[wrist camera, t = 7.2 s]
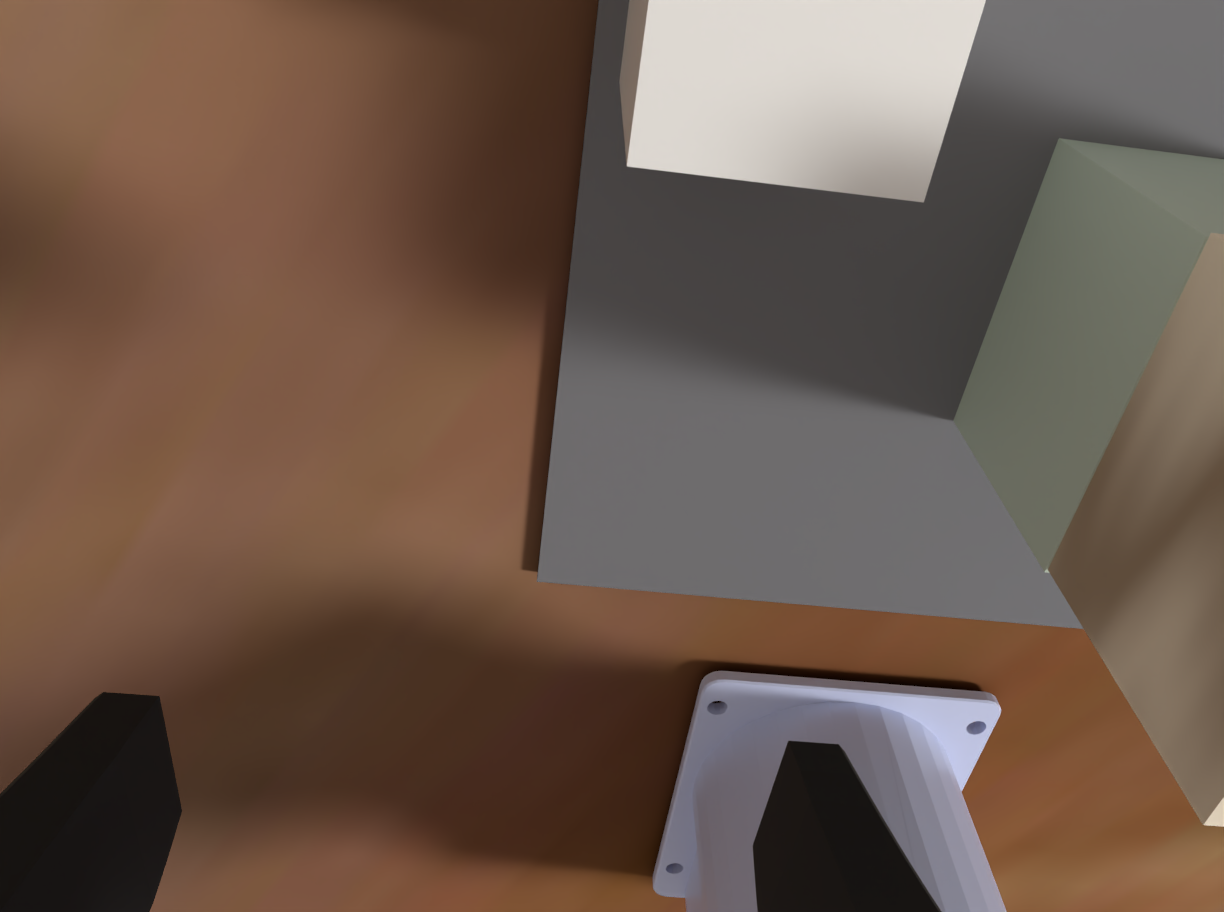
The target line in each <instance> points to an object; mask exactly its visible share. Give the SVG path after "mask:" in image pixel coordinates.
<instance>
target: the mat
mask: <svg viewBox="0 0 1224 912" xmlns="http://www.w3.org/2000/svg"><path fill="white" fill-rule="evenodd" d="M628 7H629V0H599V3H598V12H597V22H596V31H595V40H594V50H593V59H592V69H591V78H590V87H589V97H588V106H587V115H586V125H585V134H584V144H583V153H582V162H581V172H580V181H579V190H578V200H577V209H576V219H575V228H574V237H573V247H572V256H571V265H570V275H569V284H568V294H567V303H566V312H565V322H564V331H563V341H562V350H561V359H560V369H559V378H558V387H557V397H556V406H555V416H554V425H553V434H552V444H551V453H550V462H549V472H548V481H547V491H546V500H545V509H544V519H543V528H542V537H541V547H540V556H539V566H538V575H537V582H548V583H559V584H571V585H583V586H594V587H606V588H617V589H629V590H640V591H652V592H664V593H675V594H687V595H698V596H710V597H722V598H733V599H745V600H756V601H768V602H779V603H791V604H803V605H814V606H826V607H837V608H849V609H860V610H872V611H884V612H895V613H907V614H918V615H930V616H941V617H953V618H965V619H976V620H988V621H999V622H1011V623H1022V624H1034V625H1046V626H1057V627H1069V628H1080V629H1083V627H1082V625H1081V624H1080V622H1079V620H1078V619H1077V617H1076V615H1075V614H1074V612H1073V610H1072V609H1071V607H1070V606H1069V604H1068V602H1067V601H1066V599H1065V597H1064V596H1063V594H1062V592H1061V591H1060V589H1059V587H1058V586H1057V584H1056V583H1055V581H1054V579H1053V578H1052V576H1051V574H1050V573H1046V572H1044V571H1043V569H1042V567H1041V566H1040V564H1039V562H1038V561H1037V559H1036V558H1035V556H1034V554H1033V553H1032V551H1031V549H1030V548H1029V546H1028V544H1027V543H1026V541H1025V539H1024V538H1023V536H1022V534H1021V533H1020V531H1019V529H1018V528H1017V526H1016V524H1015V523H1014V521H1013V519H1012V518H1011V516H1010V514H1009V513H1008V511H1007V509H1006V508H1005V506H1004V504H1003V503H1002V501H1001V499H1000V498H999V496H998V494H997V493H996V491H995V489H994V488H993V486H992V484H991V483H990V481H989V479H988V478H987V476H986V474H985V473H984V471H983V470H982V468H981V466H980V465H979V463H978V461H977V460H976V458H975V456H974V455H973V453H972V451H971V450H970V448H969V446H968V445H967V443H966V441H965V440H964V438H963V436H962V435H961V433H960V431H959V430H958V428H957V426H956V425H955V423H954V421H953V420H954V418H955V415H956V412H957V410H958V407H959V404H960V402H961V399H962V396H963V394H964V391H965V388H966V386H967V383H968V380H969V378H970V375H971V372H972V369H973V367H974V364H975V361H976V359H977V356H978V353H979V351H980V348H981V345H982V343H983V340H984V337H985V335H986V332H987V329H988V327H989V324H990V321H991V319H992V316H993V313H994V310H995V308H996V305H997V302H998V300H999V297H1000V294H1001V292H1002V289H1003V286H1004V284H1005V281H1006V278H1007V276H1008V273H1009V270H1010V268H1011V265H1012V262H1013V260H1014V257H1015V254H1016V251H1017V249H1018V246H1019V243H1020V241H1021V238H1022V235H1023V233H1024V230H1025V227H1026V225H1027V222H1028V219H1029V217H1030V214H1031V211H1032V209H1033V206H1034V203H1035V201H1036V198H1037V195H1038V193H1039V190H1040V187H1041V184H1042V182H1043V179H1044V176H1045V174H1046V171H1047V168H1048V166H1049V163H1050V160H1051V158H1052V155H1053V152H1054V150H1055V147H1056V144H1057V142H1058V139H1059V138H1061V139H1069V140H1077V141H1084V142H1092V143H1100V144H1108V145H1116V146H1123V147H1131V148H1139V149H1147V150H1155V151H1162V152H1170V153H1178V154H1186V155H1193V156H1201V157H1209V158H1217V159H1224V0H986V2H985V5H984V8H983V12H982V15H981V18H980V21H979V25H978V28H977V31H976V34H975V38H974V41H973V44H972V47H971V51H970V54H969V57H968V60H967V63H966V67H965V70H964V73H963V76H962V80H961V83H960V86H959V89H958V93H957V96H956V99H955V102H954V106H953V109H952V112H951V115H950V119H949V122H948V125H947V128H946V132H945V135H944V138H943V141H942V145H941V148H940V151H939V154H938V158H937V161H936V164H935V167H934V171H933V174H932V177H931V180H930V184H929V187H928V190H927V193H926V196H925V200H924V202H916V201H907V200H899V199H891V198H883V197H875V196H866V195H858V194H850V193H842V192H833V191H825V190H817V189H809V188H800V187H792V186H784V185H776V184H767V183H759V182H751V181H743V180H734V179H726V178H718V177H710V176H702V175H693V174H685V173H677V172H669V171H660V170H652V169H644V168H636V167H627V164H626V153H625V141H624V130H623V118H622V107H621V95H620V84H619V81H620V72H621V64H622V56H623V48H624V40H625V32H626V23H627V15H628Z"/></svg>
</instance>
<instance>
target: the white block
mask: <svg viewBox="0 0 1224 912" xmlns="http://www.w3.org/2000/svg"><path fill="white" fill-rule="evenodd" d="M985 2H986V0H629V7H628V15H627V23H626V32H625V40H624V48H623V56H622V64H621V72H620V81H619V84H620V95H621V107H622V118H623V130H624V141H625V153H626V164H627V167H636V168H644V169H652V170H660V171H669V172H677V173H685V174H693V175H702V176H710V177H718V178H726V179H734V180H743V181H751V182H759V183H767V184H776V185H784V186H792V187H800V188H809V189H817V190H825V191H833V192H842V193H850V194H858V195H866V196H875V197H883V198H891V199H899V200H907V201H916V202H924V200H925V196H926V193H927V190H928V187H929V184H930V180H931V177H932V174H933V171H934V167H935V164H936V161H937V158H938V154H939V151H940V148H941V145H942V141H943V138H944V135H945V132H946V128H947V125H948V122H949V119H950V115H951V112H952V109H953V106H954V102H955V99H956V96H957V93H958V89H959V86H960V83H961V80H962V76H963V73H964V70H965V67H966V63H967V60H968V57H969V54H970V51H971V47H972V44H973V41H974V38H975V34H976V31H977V28H978V25H979V21H980V18H981V15H982V12H983V8H984V5H985Z"/></svg>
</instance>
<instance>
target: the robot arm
mask: <svg viewBox="0 0 1224 912" xmlns="http://www.w3.org/2000/svg"><path fill="white" fill-rule="evenodd" d="M714 701H722V702H720V703H712V702H714ZM1000 713H1001V708H1000V706H999V703H998V701H997V699H996V697H995V696H994V695H993V694H991V693H987V692H981V691H969V690H956V689H944V688H931V687H919V686H906V685H894V684H882V683H869V682H857V681H844V680H832V679H819V678H807V677H794V676H782V675H770V674H757V673H745V672H732V671H715V672H712V673H709V674H708V675H706V676H705V677H704V678H703V679H702V681H701V683H700V687H699V691H698V695H697V699H696V703H695V707H694V711H693V715H692V719H691V724H690V728H689V732H688V736H687V740H686V744H685V748H684V752H683V756H682V760H681V764H680V768H679V772H678V776H677V780H676V784H675V788H674V792H673V796H672V800H671V804H670V808H669V812H668V816H667V820H666V824H665V828H664V833H663V837H662V841H661V845H660V849H659V853H658V857H657V861H656V865H655V869H654V873H653V889H654V891H655V892H656V893H657V894H659V895H661V896H666V897H681V898H685V900H686V912H1007V911H1006V909H1005V906H1004V903H1003V901H1002V898H1001V895H1000V893H999V890H998V888H997V885H996V882H995V880H994V877H993V874H992V872H991V869H990V866H989V864H988V861H987V858H986V856H985V853H984V851H983V848H982V845H981V843H980V840H979V837H978V835H977V832H976V829H975V827H974V824H973V821H972V819H971V816H970V814H969V811H968V808H967V806H966V803H965V800H964V798H963V795H962V790H963V788H964V786H965V784H966V782H967V780H968V778H969V776H970V774H971V772H972V770H973V768H974V766H975V764H976V762H977V760H978V758H979V756H980V754H981V752H982V750H983V748H984V746H985V744H986V742H987V740H988V738H989V736H990V734H991V732H992V730H993V728H994V726H995V724H996V722H997V720H998V718H999V716H1000ZM975 721H976V722H975ZM972 722H973V723H972ZM181 812H182V809H181V804H180V799H179V794H178V789H177V783H176V778H175V773H174V768H173V763H172V758H171V753H170V748H169V743H168V738H167V733H166V728H165V722H164V717H163V712H162V707H161V702H160V697H159V696H149V695H135V694H121V693H106V692H103V693H102V694H100V695H99V696H97V697H96V698H95V699H94V700H93V701H92V702H91V703H90V704H89V705H88V706H87V707H86V708H85V709H84V710H83V711H82V712H81V713H80V714H79V715H78V716H77V717H76V718H75V719H74V720H73V721H72V722H71V723H70V724H69V725H68V726H67V727H66V728H65V729H64V730H63V731H62V732H61V733H60V734H59V735H58V736H57V737H56V738H55V739H54V740H53V741H52V742H51V743H50V745H49V746H48V747H47V748H46V749H45V750H44V751H43V752H42V753H41V754H40V755H39V756H38V757H37V758H36V759H35V760H34V761H33V762H32V763H31V764H30V765H29V766H28V767H27V768H26V769H25V770H24V771H23V772H22V773H21V774H20V775H19V776H18V777H17V778H16V779H15V780H14V781H13V782H12V783H11V784H10V785H9V786H8V787H7V788H6V789H5V790H4V791H3V792H2V793H1V794H0V912H149V911H150V909H151V906H152V904H153V901H154V898H155V895H156V892H157V889H158V886H159V883H160V880H161V877H162V874H163V871H164V868H165V865H166V862H167V858H168V855H169V852H170V849H171V845H172V842H173V839H174V835H175V832H176V829H177V825H178V822H179V819H180V816H181Z"/></svg>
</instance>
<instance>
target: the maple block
mask: <svg viewBox="0 0 1224 912" xmlns="http://www.w3.org/2000/svg"><path fill="white" fill-rule="evenodd" d="M1048 571H1049V573H1050V574H1051V576H1052V578H1053V579H1054V581H1055V583H1056V584H1057V586H1058V587H1059V589H1060V591H1061V592H1062V594H1063V596H1064V597H1065V599H1066V601H1067V602H1068V604H1069V606H1070V607H1071V609H1072V610H1073V612H1074V614H1075V615H1076V617H1077V619H1078V620H1079V622H1080V624H1081V625H1082V627H1083V629H1084V630H1085V632H1086V633H1087V635H1088V637H1089V638H1090V640H1091V642H1092V643H1093V645H1094V647H1095V648H1096V650H1097V652H1098V653H1099V655H1100V656H1101V658H1102V660H1103V661H1104V663H1105V665H1106V666H1107V668H1108V670H1109V671H1110V673H1111V675H1112V676H1113V678H1114V679H1115V681H1116V683H1117V684H1118V686H1119V688H1120V689H1121V691H1122V693H1123V694H1124V696H1125V698H1126V699H1127V701H1128V702H1129V704H1130V706H1131V707H1132V709H1133V711H1134V712H1135V714H1136V716H1137V717H1138V719H1139V720H1140V722H1141V724H1142V725H1143V727H1144V729H1145V730H1146V732H1147V734H1148V735H1149V737H1150V739H1151V740H1152V742H1153V743H1154V745H1155V747H1156V748H1157V750H1158V752H1159V753H1160V755H1161V757H1162V758H1163V760H1164V762H1165V763H1166V765H1167V766H1168V768H1169V770H1170V771H1171V773H1172V775H1173V776H1174V778H1175V780H1176V781H1177V783H1178V785H1179V786H1180V788H1181V789H1182V791H1183V793H1184V794H1185V796H1186V798H1187V799H1188V801H1189V803H1190V804H1191V806H1192V808H1193V809H1194V811H1195V812H1196V814H1197V816H1198V817H1199V819H1200V821H1201V822H1202V824H1203V825H1210V826H1224V234H1218V233H1211V234H1210V236H1209V238H1208V240H1207V242H1206V244H1205V246H1204V248H1203V250H1202V252H1201V254H1200V257H1199V259H1198V261H1197V263H1196V265H1195V267H1194V269H1193V271H1192V273H1191V275H1190V277H1189V279H1188V281H1187V283H1186V285H1185V287H1184V290H1183V292H1182V294H1181V296H1180V298H1179V300H1178V302H1177V304H1176V306H1175V308H1174V310H1173V312H1172V314H1171V316H1170V318H1169V320H1168V323H1167V325H1166V327H1165V329H1164V331H1163V333H1162V335H1161V337H1160V339H1159V341H1158V343H1157V345H1156V347H1155V349H1154V351H1153V353H1152V356H1151V358H1150V360H1149V362H1148V364H1147V366H1146V368H1145V370H1144V372H1143V374H1142V376H1141V378H1140V380H1139V382H1138V384H1137V386H1136V389H1135V391H1134V393H1133V395H1132V397H1131V399H1130V401H1129V403H1128V405H1127V407H1126V409H1125V411H1124V413H1123V415H1122V417H1121V419H1120V422H1119V424H1118V426H1117V428H1116V430H1115V432H1114V434H1113V436H1112V438H1111V440H1110V442H1109V444H1108V446H1107V448H1106V450H1105V452H1104V455H1103V457H1102V459H1101V461H1100V463H1099V465H1098V467H1097V469H1096V471H1095V473H1094V475H1093V477H1092V479H1091V481H1090V483H1089V485H1088V488H1087V490H1086V492H1085V494H1084V496H1083V498H1082V500H1081V502H1080V504H1079V506H1078V508H1077V510H1076V512H1075V514H1074V516H1073V518H1072V521H1071V523H1070V525H1069V527H1068V529H1067V531H1066V533H1065V535H1064V537H1063V539H1062V541H1061V543H1060V545H1059V547H1058V549H1057V551H1056V554H1055V556H1054V558H1053V560H1052V562H1051V564H1050V566H1049V568H1048Z"/></svg>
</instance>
